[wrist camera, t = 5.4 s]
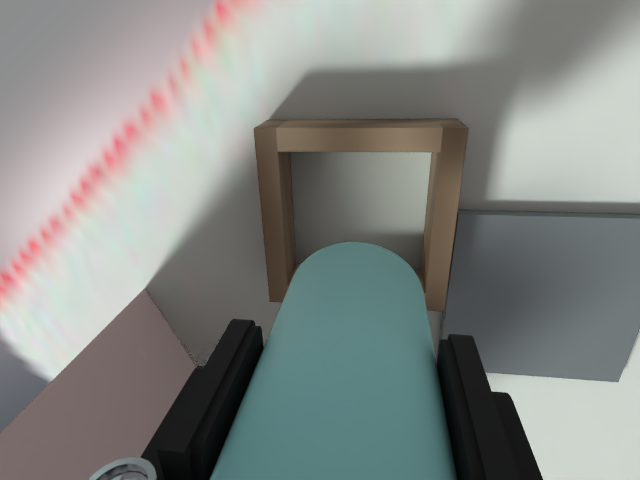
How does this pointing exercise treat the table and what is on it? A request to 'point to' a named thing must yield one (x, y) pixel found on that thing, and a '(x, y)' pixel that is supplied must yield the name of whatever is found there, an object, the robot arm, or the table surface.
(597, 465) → the table surface
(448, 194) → the pocket
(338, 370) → the peg
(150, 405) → the greeting card
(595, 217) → the mat
